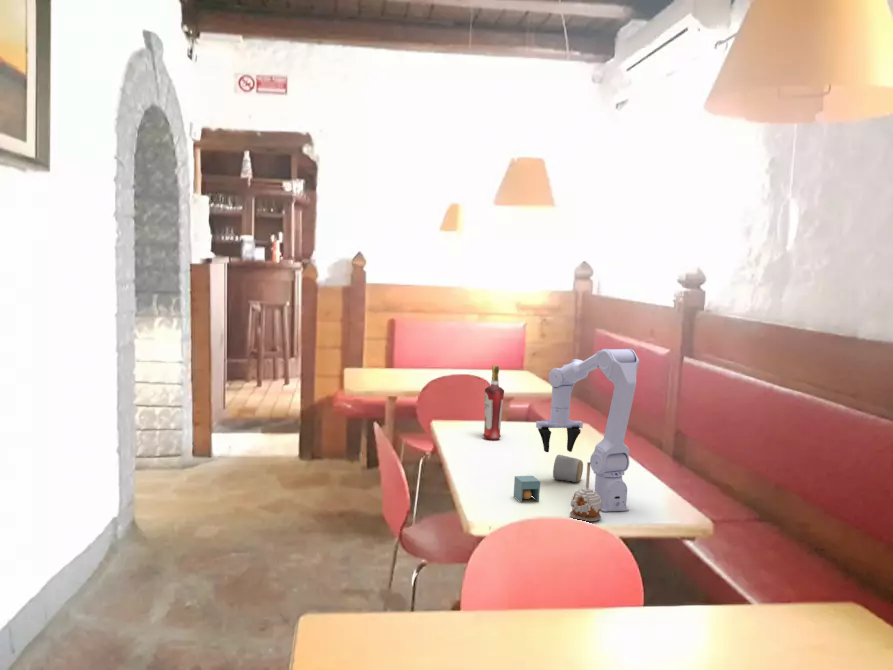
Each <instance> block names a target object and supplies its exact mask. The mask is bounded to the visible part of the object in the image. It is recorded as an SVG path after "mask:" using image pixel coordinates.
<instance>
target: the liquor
mask: <svg viewBox="0 0 893 670" xmlns="http://www.w3.org/2000/svg"><path fill="white" fill-rule="evenodd" d="M491 369H492V370H491V372H492V373H491V374H492V375H491V383H490V386H487V387H486V388H484V427H483V429H484V433H483V434H482V436H483V437H484V438H485V440H487V441H498V440H499V439H500V438H501V437H502V435H501V424H502V423H501V422H502V414H503V405H504V395H505V390H504V389H503V388H502V387H501V386H500V385H499V384H500V383H499V381H500V380H499V373H500V365H492V366H491Z"/></svg>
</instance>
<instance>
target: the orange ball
mask: <svg viewBox="0 0 893 670" xmlns="http://www.w3.org/2000/svg"><path fill="white" fill-rule="evenodd" d="M531 496H532V493H531V491H530V490H529V489H524V490H523V493H522V500H525V499H528V500H530V499H531V498H532V497H531Z"/></svg>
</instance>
